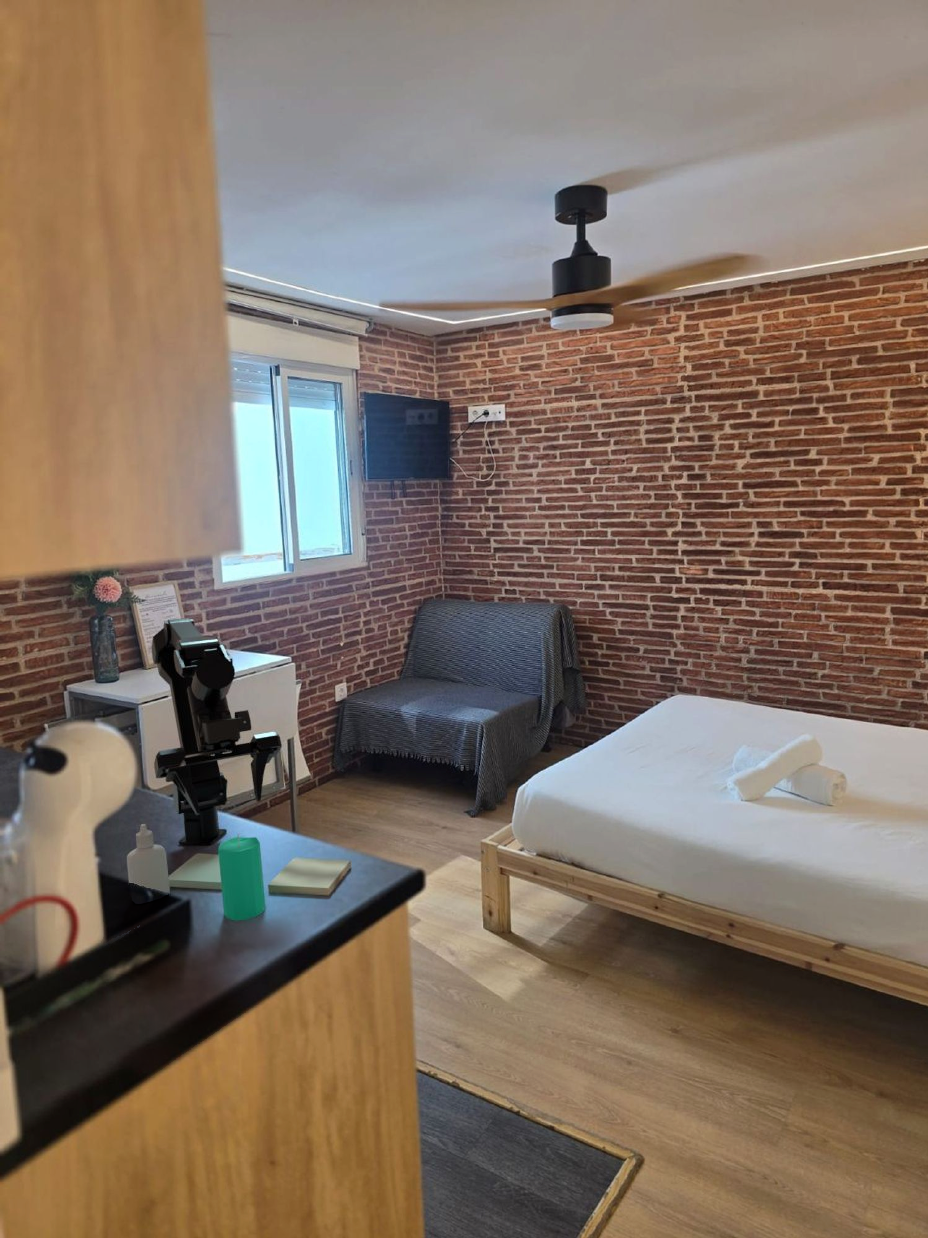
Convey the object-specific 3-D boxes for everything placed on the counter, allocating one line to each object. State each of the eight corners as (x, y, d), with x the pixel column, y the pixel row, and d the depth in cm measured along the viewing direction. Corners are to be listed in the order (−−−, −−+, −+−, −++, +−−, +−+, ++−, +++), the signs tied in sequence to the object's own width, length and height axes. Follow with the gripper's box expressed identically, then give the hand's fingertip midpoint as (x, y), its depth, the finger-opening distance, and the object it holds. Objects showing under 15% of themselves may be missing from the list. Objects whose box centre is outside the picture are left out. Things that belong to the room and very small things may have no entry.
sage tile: (197, 860, 142) (196, 853, 142) (250, 862, 140) (250, 856, 139) (165, 886, 132) (164, 879, 132) (221, 889, 130) (221, 882, 130)
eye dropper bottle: (136, 893, 130) (128, 821, 128) (172, 890, 131) (165, 818, 129) (128, 906, 126) (119, 831, 124) (165, 903, 126) (157, 828, 125)
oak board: (294, 864, 138) (294, 858, 138) (350, 867, 136) (350, 860, 136) (268, 892, 128) (268, 885, 128) (328, 895, 126) (328, 888, 126)
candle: (254, 921, 119) (247, 842, 118) (216, 919, 120) (209, 841, 119) (272, 902, 125) (265, 826, 123) (235, 900, 126) (229, 825, 125)
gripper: (152, 703, 120) (169, 807, 115) (277, 685, 129) (299, 781, 123) (147, 728, 129) (163, 826, 124) (265, 710, 138) (284, 800, 132)
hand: (229, 807), depth 125 cm, fingers open, 9 cm apart
